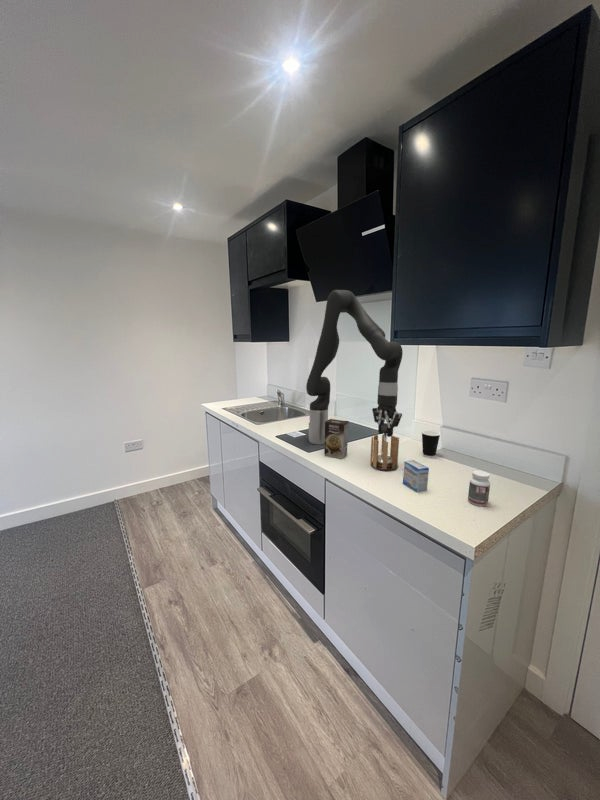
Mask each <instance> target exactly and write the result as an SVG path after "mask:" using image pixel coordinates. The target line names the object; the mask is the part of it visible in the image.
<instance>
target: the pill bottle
mask: <svg viewBox="0 0 600 800" xmlns="http://www.w3.org/2000/svg"><path fill="white" fill-rule="evenodd" d="M471 474H472V477H471V478H470V479H469V482H468V483H469V485H468V492H467V493H468V495H467V496H468V497H467V501H468V502H469V503H470V504H472V505H474V506H478V507H485V506H488V504H489V498H490V497H489V496H490V489H491V482H490V473H488V472H486V471H484V470H473V471H472V472H471Z"/></svg>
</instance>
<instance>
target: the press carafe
mask: <svg viewBox="0 0 600 800" xmlns="http://www.w3.org/2000/svg"><path fill="white" fill-rule="evenodd" d="M383 440H384V433H383V434H382V435H381V449H380V450H381V451H380V452H381V453H380V455H383V458H382V464H380V463H378V455H379V442H380V441H379V435H378V434H374V435H373V436H371V442H370V443H371V444H370V460H369V461H370V467H371V468H372V469H374V470H376V471H380V472H381V471H382V472H394V471H395V470H397V468H398V466H399V465H398V462H399V461H398V460H399V444H400V437H398V436H394V435H392V436H391V437H390V453H389V452H388V451H389V441H386V442H383ZM388 453H389V455H388ZM387 456H390V457H392V460H391V464H387Z"/></svg>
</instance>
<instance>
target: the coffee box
mask: <svg viewBox="0 0 600 800" xmlns="http://www.w3.org/2000/svg"><path fill="white" fill-rule="evenodd" d="M348 442H349V420H340V419H334V418H328V420H327V421H325V444H323V446H324V449H323V450H324V451H323V453H324V455H323V457H328V458H334V459H338V460H344V459H345V458H346V457H347V456H348V445H349V444H348Z"/></svg>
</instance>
